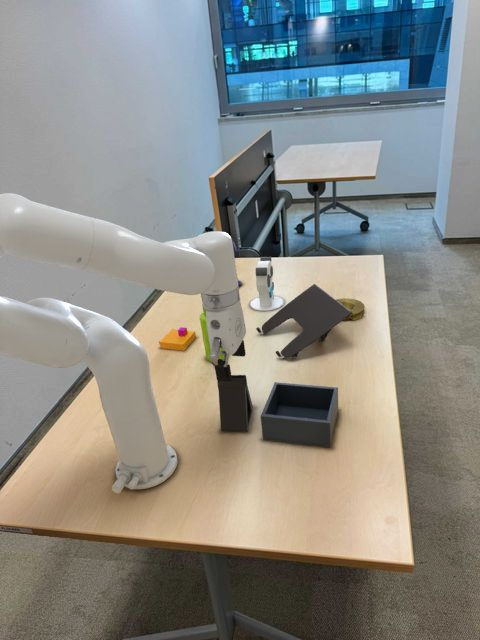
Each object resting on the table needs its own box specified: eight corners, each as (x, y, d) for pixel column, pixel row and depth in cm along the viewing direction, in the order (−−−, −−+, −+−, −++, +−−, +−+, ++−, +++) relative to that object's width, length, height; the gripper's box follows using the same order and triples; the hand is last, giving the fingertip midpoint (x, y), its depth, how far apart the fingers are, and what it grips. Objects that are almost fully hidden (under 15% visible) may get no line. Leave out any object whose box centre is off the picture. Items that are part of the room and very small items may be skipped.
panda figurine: (281, 311, 156) (277, 268, 149) (247, 311, 158) (242, 269, 151) (285, 296, 166) (282, 255, 159) (253, 296, 168) (249, 256, 161)
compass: (324, 321, 148) (324, 314, 147) (327, 304, 158) (327, 298, 157) (364, 321, 146) (364, 315, 145) (364, 304, 156) (364, 298, 155)
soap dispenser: (227, 362, 132) (218, 296, 122) (203, 361, 133) (192, 296, 123) (232, 351, 137) (224, 287, 127) (209, 350, 138) (199, 287, 128)
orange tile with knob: (184, 350, 139) (181, 338, 137) (160, 348, 142) (157, 335, 140) (196, 337, 146) (194, 325, 144) (173, 335, 148) (170, 323, 146)
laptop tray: (266, 343, 151) (251, 323, 145) (324, 299, 151) (311, 278, 146) (296, 380, 132) (280, 359, 127) (362, 330, 132) (349, 306, 127)
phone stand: (228, 407, 114) (222, 365, 108) (253, 407, 113) (248, 365, 107) (220, 432, 107) (213, 388, 101) (247, 432, 106) (241, 388, 100)
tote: (330, 447, 99) (330, 423, 96) (263, 440, 103) (260, 416, 100) (338, 410, 110) (338, 387, 106) (276, 404, 114) (274, 382, 110)
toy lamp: (227, 287, 178) (221, 244, 169) (231, 282, 182) (226, 239, 173) (239, 287, 176) (234, 244, 168) (243, 282, 180) (238, 239, 172)
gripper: (224, 316, 86) (236, 392, 95) (250, 278, 100) (259, 347, 109) (186, 315, 88) (201, 390, 97) (217, 278, 102) (228, 346, 111)
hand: (231, 367), depth 103 cm, fingers open, 9 cm apart
